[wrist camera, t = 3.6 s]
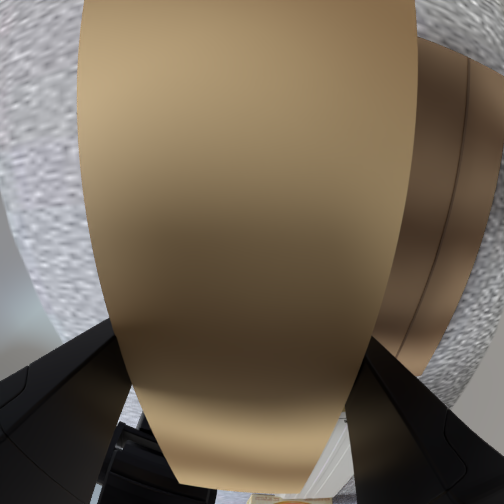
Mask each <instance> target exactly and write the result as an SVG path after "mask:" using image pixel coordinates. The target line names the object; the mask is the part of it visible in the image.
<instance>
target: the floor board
mask: <svg viewBox="0 0 504 504" xmlns="http://www.w3.org/2000/svg"><path fill="white" fill-rule="evenodd" d="M417 46H418V85H417V108H416V123H415V135H414V145H413V154H412V162H411V170H410V177H409V183H408V190H407V196H406V202H405V207H404V213H403V218H402V223H401V228H400V233H399V238H398V242H397V247H396V251H395V255H394V259H393V263H392V267H391V271H390V275H389V279H388V283H387V286H386V290H385V293H384V297H383V300H382V304H381V307H380V310H379V314H378V317H377V320H376V323H375V326H374V329H373V332H372V336H373V337H374V338H375V339H376V340H377V341H379V342H380V343H381V344H382V345H383V346H384V347H385V348H386V349H387V350H388V351H389V352H390V353H391V354H392V355H393V356H394V357H396V358H397V359H398V360H399V361H400V362H401V363H402V364H403V365H404V366H405V367H406V368H407V369H408V370H409V371H410V372H411V373H412V374H413V375H414V376H421V375H422V373H423V371H424V369H425V368H426V366H427V364H428V362H429V361H430V359H431V357H432V355H433V354H434V352H435V350H436V348H437V346H438V344H439V342H440V340H441V338H442V336H443V335H444V333H445V331H446V329H447V326H448V324H449V322H450V320H451V318H452V316H453V314H454V312H455V309H456V307H457V305H458V303H459V300H460V298H461V296H462V293H463V291H464V288H465V286H466V284H467V281H468V278H469V276H470V273H471V271H472V268H473V265H474V262H475V260H476V257H477V254H478V251H479V248H480V245H481V242H482V238H483V235H484V232H485V228H486V225H487V221H488V218H489V214H490V210H491V206H492V202H493V198H494V194H495V189H496V185H497V180H498V175H499V169H500V164H501V158H502V151H503V144H504V76H503V75H501V74H499V73H497V72H496V71H494V70H492V69H490V68H488V67H486V66H484V65H482V64H480V63H478V62H476V61H474V60H472V59H470V58H469V57H466V56H464V55H462V54H460V53H457V52H455V51H453V50H451V49H448V48H446V47H443V46H441V45H438V44H436V43H433V42H431V41H428V40H425V39H423V38H420V37H417Z"/></svg>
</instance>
